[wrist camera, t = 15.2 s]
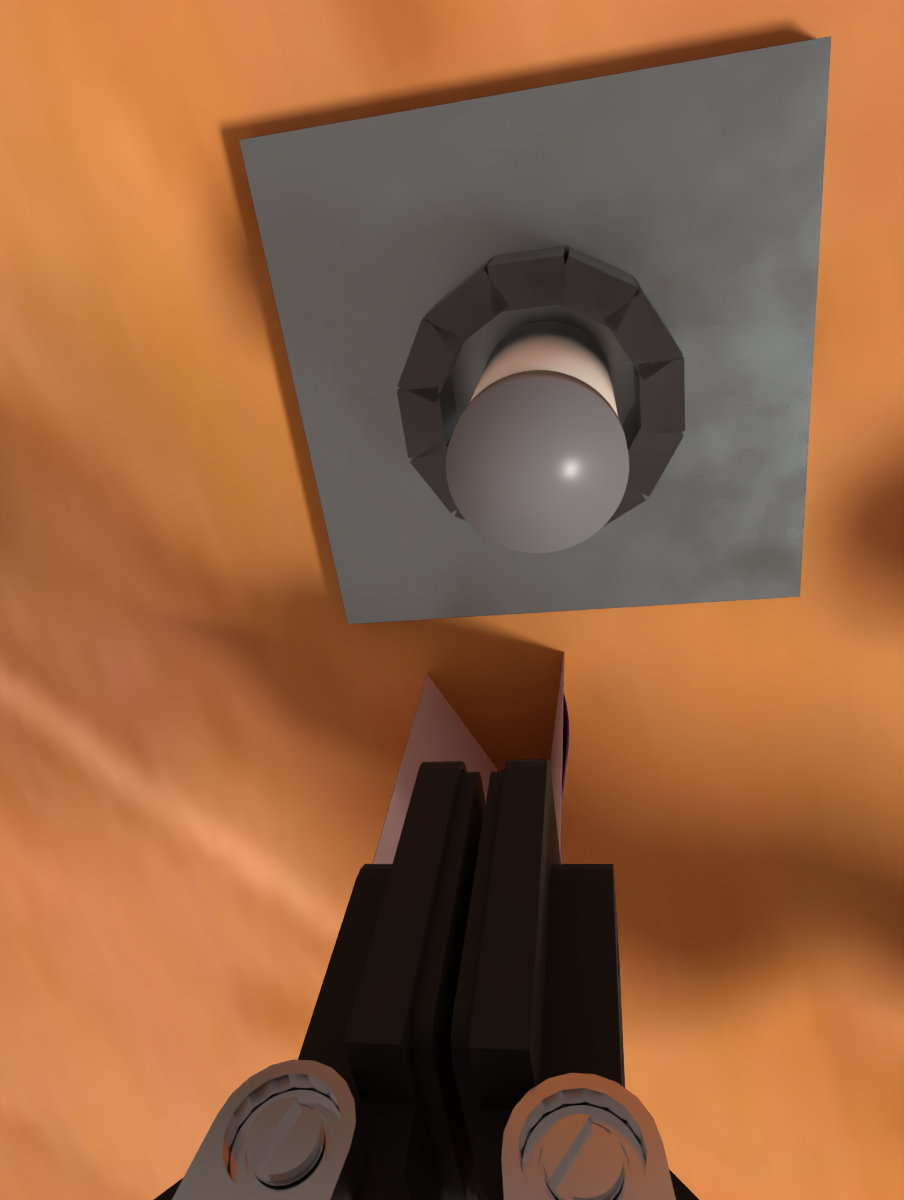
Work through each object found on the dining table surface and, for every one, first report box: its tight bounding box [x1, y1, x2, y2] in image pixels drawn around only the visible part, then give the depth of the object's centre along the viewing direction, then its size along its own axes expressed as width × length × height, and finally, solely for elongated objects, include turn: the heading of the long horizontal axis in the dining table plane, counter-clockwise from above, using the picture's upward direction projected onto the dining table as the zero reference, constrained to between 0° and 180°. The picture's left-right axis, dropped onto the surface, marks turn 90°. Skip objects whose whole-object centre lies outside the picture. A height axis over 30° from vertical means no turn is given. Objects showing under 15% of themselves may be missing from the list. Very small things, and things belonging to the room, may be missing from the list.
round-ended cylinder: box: [446, 321, 629, 553], centre depth 28 cm, size 5×5×10 cm
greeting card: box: [373, 653, 569, 864], centre depth 36 cm, size 11×7×15 cm, turn 177°
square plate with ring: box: [239, 36, 831, 624], centre depth 31 cm, size 20×20×5 cm
